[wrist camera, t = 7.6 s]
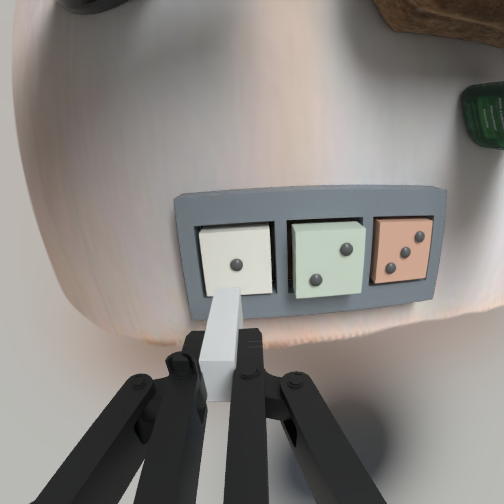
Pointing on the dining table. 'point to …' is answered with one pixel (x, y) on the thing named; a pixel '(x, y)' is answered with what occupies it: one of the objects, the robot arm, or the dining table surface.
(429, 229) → the button three
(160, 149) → the dining table surface
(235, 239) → the button one
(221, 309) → the robot arm
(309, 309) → the console
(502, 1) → the bread
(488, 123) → the coffee jar
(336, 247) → the button two
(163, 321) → the dining table surface
